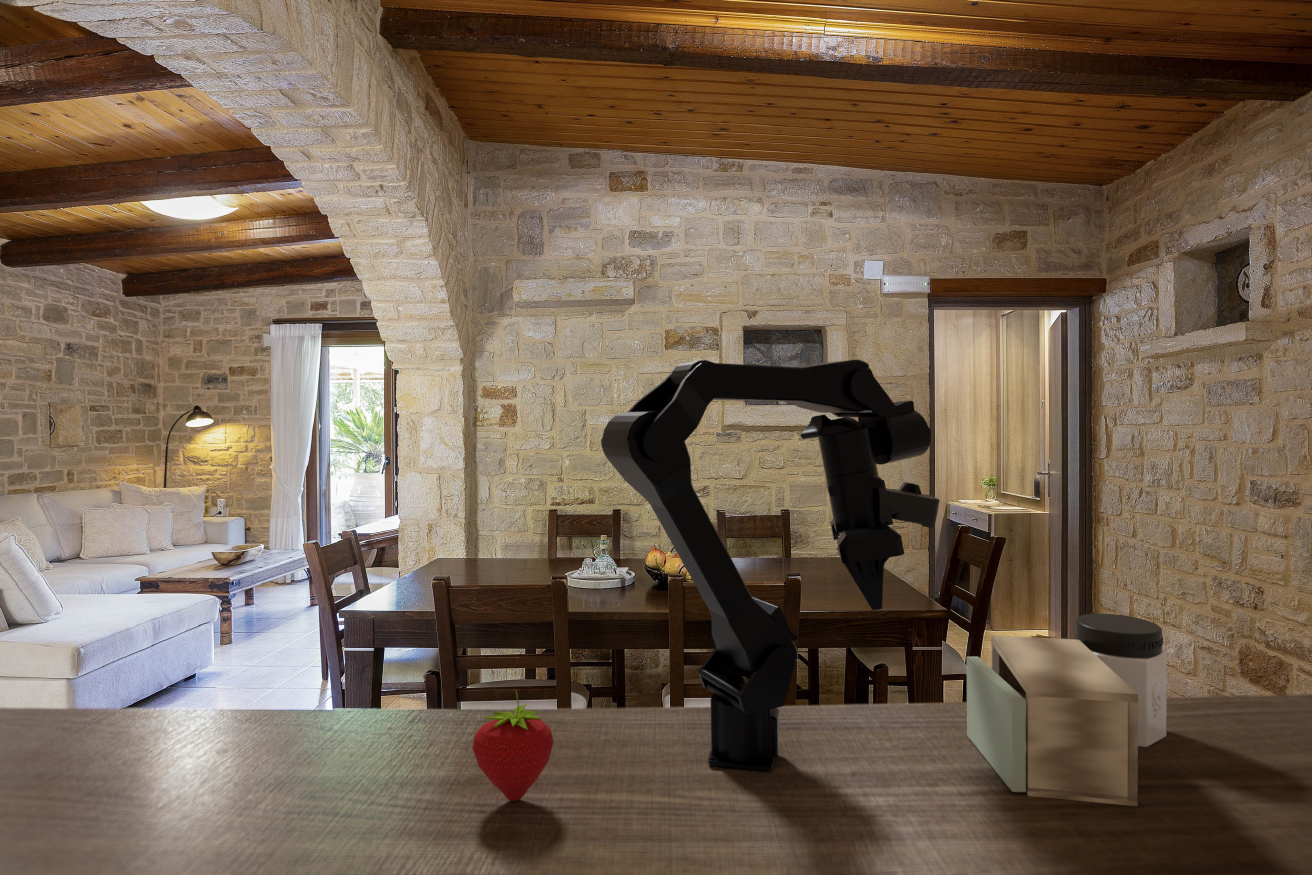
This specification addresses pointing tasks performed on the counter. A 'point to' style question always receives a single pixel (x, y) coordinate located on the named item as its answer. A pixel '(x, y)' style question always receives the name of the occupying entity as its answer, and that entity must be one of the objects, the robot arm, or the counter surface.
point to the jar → (1132, 664)
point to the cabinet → (1072, 720)
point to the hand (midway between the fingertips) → (876, 608)
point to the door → (997, 722)
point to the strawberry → (513, 750)
